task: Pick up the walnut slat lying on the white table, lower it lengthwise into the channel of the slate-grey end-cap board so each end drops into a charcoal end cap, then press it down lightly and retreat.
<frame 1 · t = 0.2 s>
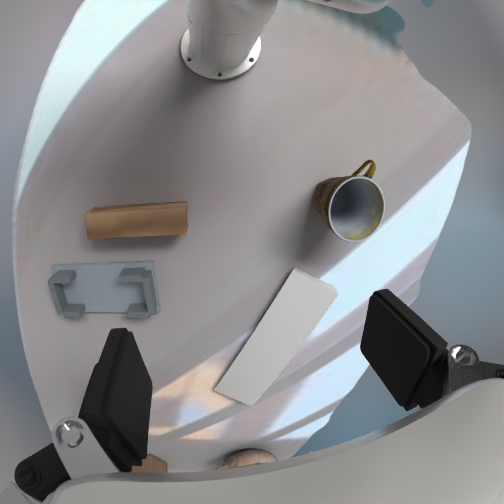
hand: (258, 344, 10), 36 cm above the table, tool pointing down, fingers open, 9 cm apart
cooking pot: (247, 452, 76), on the table
wooden block: (149, 459, 71), on the table
ceramic cup: (332, 188, 46), on the table
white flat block: (268, 339, 57), on the table
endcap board: (104, 287, 45), on the table
slat: (140, 215, 42), on the table
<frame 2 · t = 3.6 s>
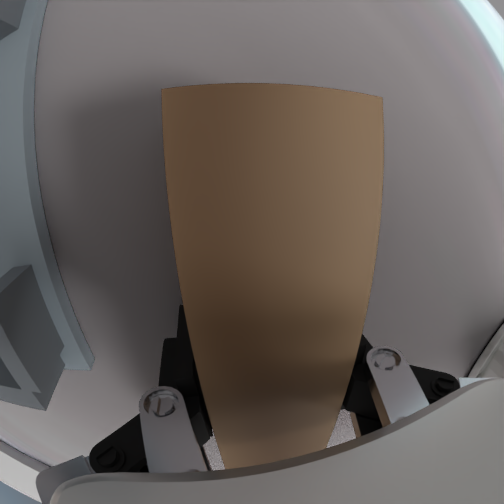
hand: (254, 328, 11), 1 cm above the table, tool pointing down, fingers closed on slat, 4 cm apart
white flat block: (42, 466, 17), on the table
slat: (251, 320, 11), on the table, touching gripper
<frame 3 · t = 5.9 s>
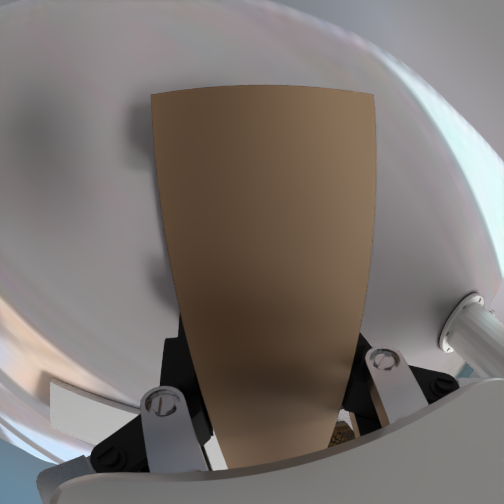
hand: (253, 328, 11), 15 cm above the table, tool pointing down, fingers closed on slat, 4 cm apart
ceramic cup: (337, 429, 43), on the table
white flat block: (157, 424, 35), on the table
slat: (251, 319, 11), point 14 cm above the table, touching gripper
when the fingers open (2 cm above the table, at t = 8.5 s): slat stays where it is, resting on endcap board.
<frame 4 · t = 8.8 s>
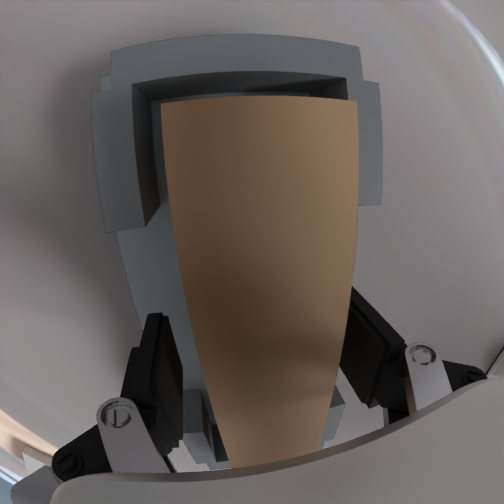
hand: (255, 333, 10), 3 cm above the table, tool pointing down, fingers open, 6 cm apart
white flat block: (156, 492, 23), on the table
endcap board: (245, 299, 13), on the table
slat: (249, 310, 12), point 1 cm above the table, touching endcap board
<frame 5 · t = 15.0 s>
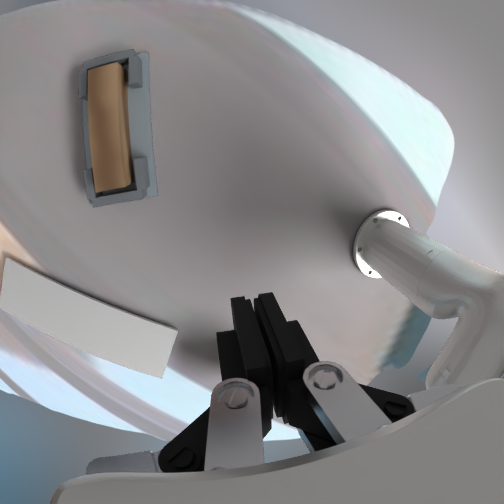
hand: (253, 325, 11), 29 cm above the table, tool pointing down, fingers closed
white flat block: (83, 311, 41), on the table
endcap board: (116, 127, 31), on the table
slat: (115, 128, 31), point 1 cm above the table, touching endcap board
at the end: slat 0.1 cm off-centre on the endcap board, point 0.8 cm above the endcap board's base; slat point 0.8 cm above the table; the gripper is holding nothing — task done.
